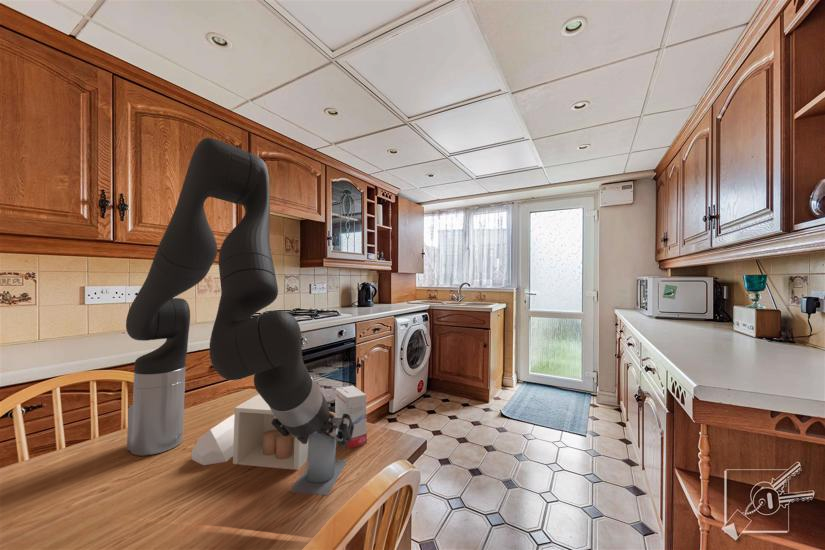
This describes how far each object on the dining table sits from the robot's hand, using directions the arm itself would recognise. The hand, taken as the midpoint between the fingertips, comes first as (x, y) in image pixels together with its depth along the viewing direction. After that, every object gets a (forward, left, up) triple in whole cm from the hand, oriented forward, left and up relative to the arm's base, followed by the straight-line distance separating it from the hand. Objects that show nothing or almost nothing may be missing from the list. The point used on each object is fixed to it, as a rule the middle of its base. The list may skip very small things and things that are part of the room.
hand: (324, 440), depth 63 cm
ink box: (+1, +13, -7) cm, 15 cm away
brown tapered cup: (-14, +5, -6) cm, 16 cm away
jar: (0, -2, -6) cm, 6 cm away
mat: (0, -2, -6) cm, 7 cm away
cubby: (-12, +4, -6) cm, 14 cm away
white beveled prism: (-25, +10, -7) cm, 28 cm away
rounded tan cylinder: (-11, +4, -6) cm, 13 cm away
